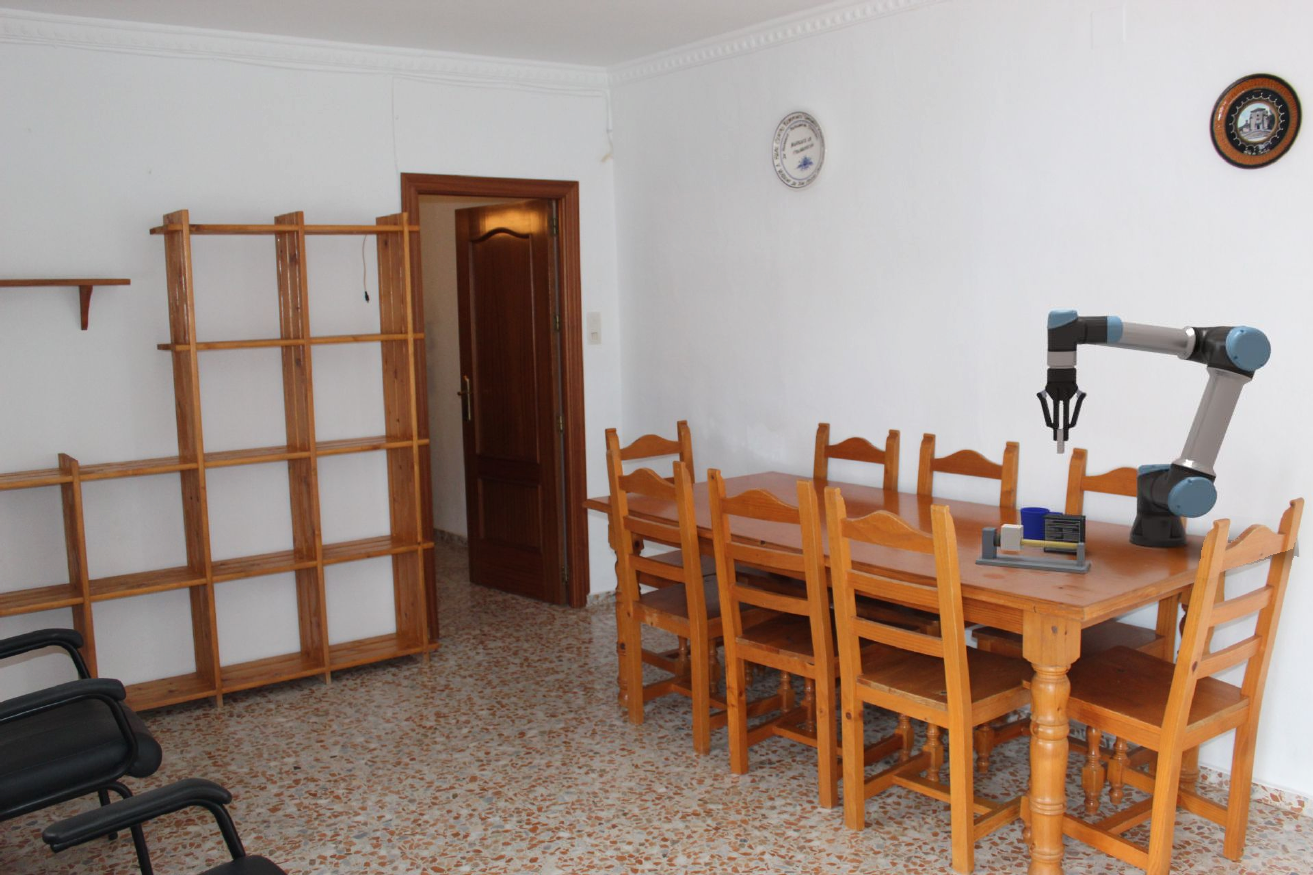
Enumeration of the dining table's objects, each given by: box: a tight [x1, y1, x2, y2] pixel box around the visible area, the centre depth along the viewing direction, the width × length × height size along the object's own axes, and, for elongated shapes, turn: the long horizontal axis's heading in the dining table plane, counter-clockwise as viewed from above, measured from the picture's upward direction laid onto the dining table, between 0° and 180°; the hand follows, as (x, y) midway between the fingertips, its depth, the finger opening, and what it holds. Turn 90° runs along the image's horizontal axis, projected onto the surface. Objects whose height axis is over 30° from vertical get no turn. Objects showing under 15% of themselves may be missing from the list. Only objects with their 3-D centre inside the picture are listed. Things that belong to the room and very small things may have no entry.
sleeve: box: [1000, 523, 1024, 552], centre depth 288 cm, size 5×4×6 cm
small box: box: [1043, 513, 1087, 556], centre depth 299 cm, size 11×6×10 cm, turn 59°
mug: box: [1019, 506, 1064, 541], centre depth 311 cm, size 8×12×10 cm
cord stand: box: [975, 526, 1092, 575], centre depth 285 cm, size 28×10×9 cm, turn 59°
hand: (1060, 452), depth 289 cm, fingers closed
